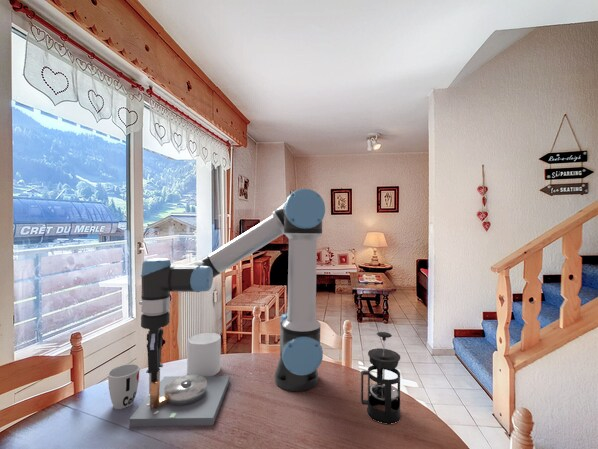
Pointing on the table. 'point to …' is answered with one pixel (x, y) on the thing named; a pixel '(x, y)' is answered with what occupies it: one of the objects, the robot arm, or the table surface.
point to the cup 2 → (204, 354)
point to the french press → (382, 384)
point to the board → (183, 407)
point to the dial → (178, 391)
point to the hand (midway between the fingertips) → (154, 392)
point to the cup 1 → (123, 385)
